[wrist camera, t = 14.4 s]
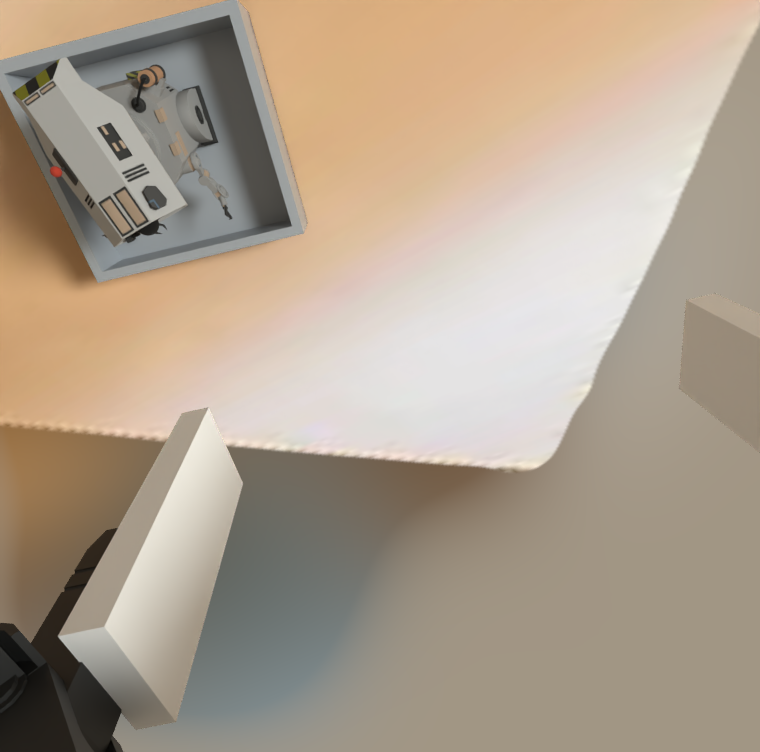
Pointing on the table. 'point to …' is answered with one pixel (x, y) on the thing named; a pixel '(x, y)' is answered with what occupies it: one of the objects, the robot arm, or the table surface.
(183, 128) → the figurine
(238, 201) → the bin
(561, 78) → the table surface
